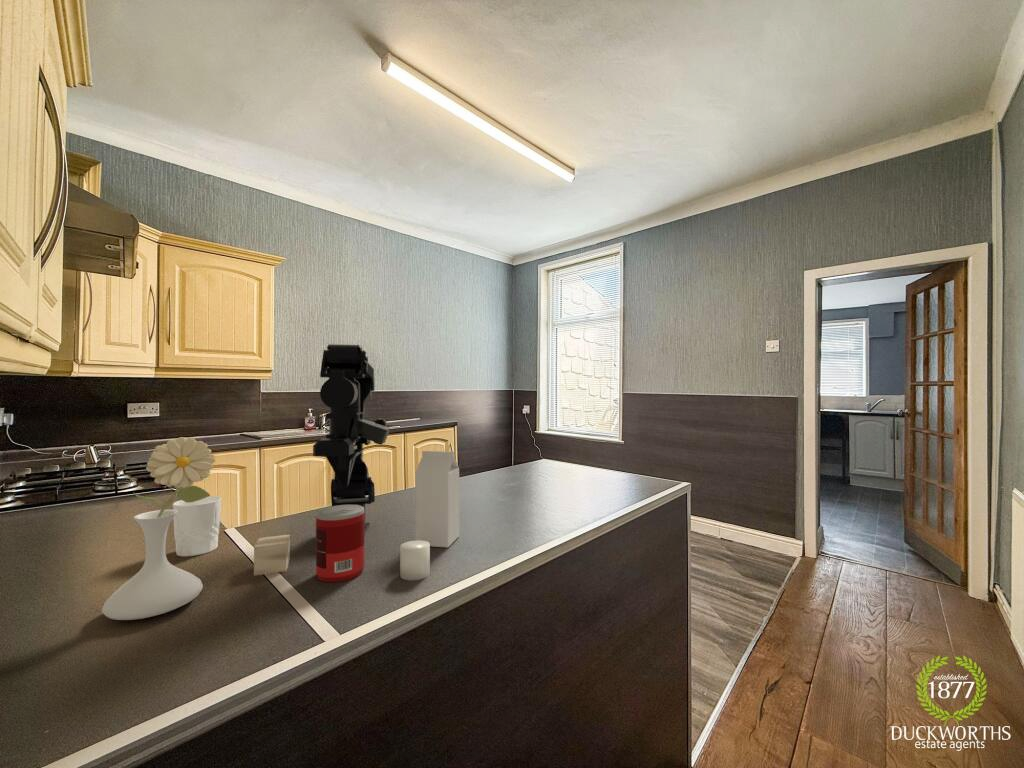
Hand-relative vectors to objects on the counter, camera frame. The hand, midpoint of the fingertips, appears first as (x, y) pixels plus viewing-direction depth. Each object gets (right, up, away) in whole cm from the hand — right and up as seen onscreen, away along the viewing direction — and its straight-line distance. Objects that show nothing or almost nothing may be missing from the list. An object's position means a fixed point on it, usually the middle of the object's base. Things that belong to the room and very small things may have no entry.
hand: (344, 486), depth 85 cm
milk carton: (+17, -13, +6) cm, 23 cm away
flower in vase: (-19, -13, -21) cm, 31 cm away
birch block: (-10, -13, -7) cm, 18 cm away
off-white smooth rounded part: (+16, -13, -10) cm, 23 cm away
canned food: (+3, -13, -10) cm, 17 cm away
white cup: (-30, -14, +1) cm, 33 cm away
